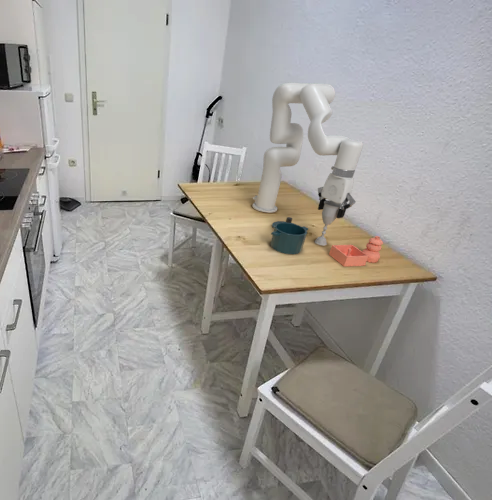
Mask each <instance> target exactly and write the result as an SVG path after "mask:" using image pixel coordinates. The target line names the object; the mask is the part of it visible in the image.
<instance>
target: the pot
mask: <svg viewBox="0 0 492 500" xmlns="http://www.w3.org/2000/svg"><path fill="white" fill-rule="evenodd" d="M308 231H309V228H308V227H307V226H306V225H305V226H302V225H299V224H297V225H296V223H294V224H293V222H291V223H284V222H282V223H277V224H275V227H274V228H273V231H271V232H270V235H271V239H270V243H269V244H270V247H271V248H272V249H273V250H274V251H276V252H279V253H282V254H286V255H299V254H300V253H302V251H303V249H304V245H305V241H306V237H307V235H308Z"/></svg>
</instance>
